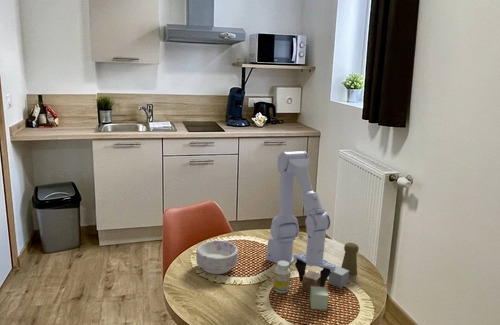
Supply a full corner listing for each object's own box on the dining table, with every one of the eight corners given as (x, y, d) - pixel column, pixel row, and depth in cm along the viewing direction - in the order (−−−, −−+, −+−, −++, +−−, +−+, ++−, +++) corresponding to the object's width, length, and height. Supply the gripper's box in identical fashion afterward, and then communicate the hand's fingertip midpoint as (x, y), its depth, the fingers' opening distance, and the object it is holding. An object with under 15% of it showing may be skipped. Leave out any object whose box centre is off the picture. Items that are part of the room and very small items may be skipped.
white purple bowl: (189, 274, 146) (189, 253, 145) (205, 256, 161) (205, 237, 159) (230, 282, 143) (230, 261, 141) (242, 262, 157) (243, 243, 155)
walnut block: (301, 289, 141) (302, 275, 139) (308, 283, 145) (309, 270, 143) (315, 294, 138) (316, 280, 137) (321, 287, 142) (322, 274, 141)
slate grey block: (328, 283, 145) (329, 270, 144) (335, 278, 149) (336, 265, 148) (340, 288, 142) (341, 275, 141) (347, 283, 146) (349, 270, 145)
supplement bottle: (283, 295, 136) (285, 268, 134) (270, 289, 139) (271, 263, 137) (292, 289, 140) (294, 263, 138) (279, 283, 143) (281, 257, 141)
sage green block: (311, 308, 129) (312, 294, 128) (309, 300, 134) (310, 286, 133) (327, 310, 129) (328, 295, 128) (325, 301, 134) (326, 287, 133)
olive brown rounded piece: (357, 276, 151) (360, 248, 149) (340, 273, 152) (343, 246, 150) (356, 268, 157) (359, 241, 154) (340, 266, 158) (343, 239, 155)
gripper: (290, 245, 138) (287, 282, 141) (331, 258, 131) (327, 296, 134) (299, 239, 144) (297, 274, 147) (339, 250, 137) (335, 287, 140)
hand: (312, 284), depth 141 cm, fingers open, 7 cm apart
